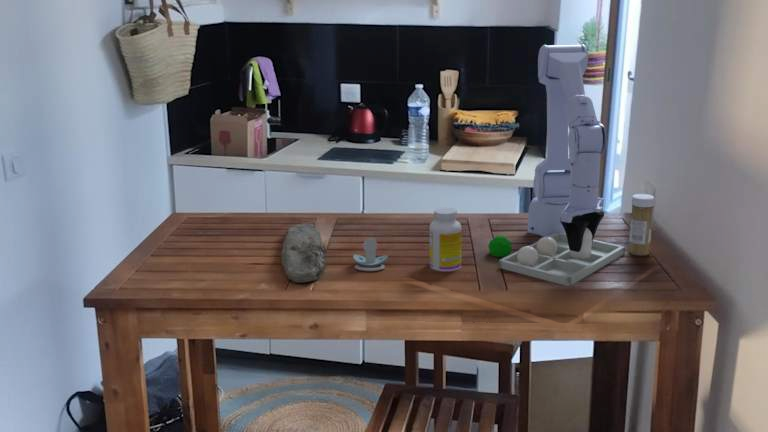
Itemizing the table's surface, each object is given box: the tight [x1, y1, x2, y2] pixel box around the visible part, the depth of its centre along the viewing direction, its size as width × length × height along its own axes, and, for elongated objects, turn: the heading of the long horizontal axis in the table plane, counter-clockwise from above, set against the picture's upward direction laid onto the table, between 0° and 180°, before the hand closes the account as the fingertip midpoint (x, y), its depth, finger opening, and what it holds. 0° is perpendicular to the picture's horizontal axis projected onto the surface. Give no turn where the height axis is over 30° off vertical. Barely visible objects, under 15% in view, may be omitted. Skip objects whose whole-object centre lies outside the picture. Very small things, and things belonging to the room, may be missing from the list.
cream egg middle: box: [537, 236, 557, 257], centre depth 169 cm, size 4×4×4 cm
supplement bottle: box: [429, 207, 462, 272], centre depth 163 cm, size 7×7×13 cm
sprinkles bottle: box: [628, 193, 655, 256], centre depth 169 cm, size 5×5×13 cm
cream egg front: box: [517, 245, 538, 267], centre depth 163 cm, size 4×4×4 cm
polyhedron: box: [488, 235, 513, 258], centre depth 171 cm, size 5×5×5 cm
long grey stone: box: [280, 222, 328, 284], centre depth 174 cm, size 35×5×10 cm
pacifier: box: [353, 237, 389, 272], centre depth 166 cm, size 7×6×6 cm
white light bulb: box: [569, 227, 592, 259], centre depth 163 cm, size 4×4×6 cm
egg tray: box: [498, 232, 626, 288], centre depth 167 cm, size 16×24×2 cm
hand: (580, 247), depth 163 cm, fingers closed on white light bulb, 4 cm apart
